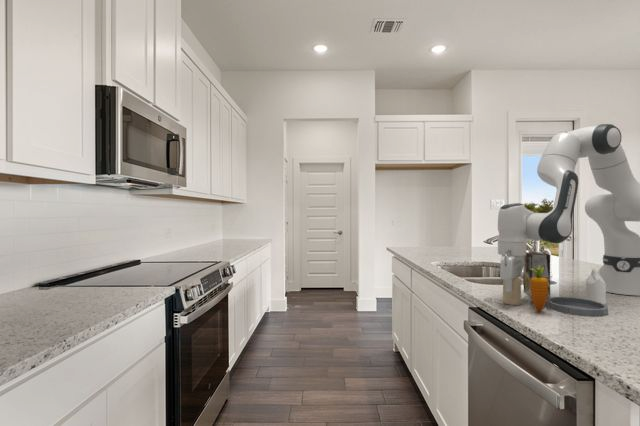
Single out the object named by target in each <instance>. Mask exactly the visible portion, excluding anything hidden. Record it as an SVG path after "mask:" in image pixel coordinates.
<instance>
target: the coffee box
mask: <svg viewBox="0 0 640 426" xmlns="http://www.w3.org/2000/svg"><path fill="white" fill-rule="evenodd" d="M538 265H540V266H541V269H542V268H544V271H543V274H542V277H544V278H546V279H547V280H548V294H547V299H548V298H551V255H550V254H549V253H548V254H547V253H544V252H541V251H535V252H531V251H528V252H527V251H526V255H525V256H524V263H523V270H522V274H523V276H522V277H523V283H522V284H523V293H525V294H526V295H529V296H530V297H532V296H531V287H530V280H531V278H532V277H536V275H535V273H534V272H533V271H531V270H530V269H534V270H535V271H537V268H538V267H537V266H538Z"/></svg>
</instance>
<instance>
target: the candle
mask: <svg viewBox="0 0 640 426" xmlns="http://www.w3.org/2000/svg"><path fill="white" fill-rule="evenodd" d="M502 302H503V304H506V305H509V306H510V305H511V306H520V305H521V304H522V280H521V278H519V277H517V276H516V277H515V278H514V279H513V280H512V291H511V292H508V291H506V285H505V280H504V279H502Z"/></svg>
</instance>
